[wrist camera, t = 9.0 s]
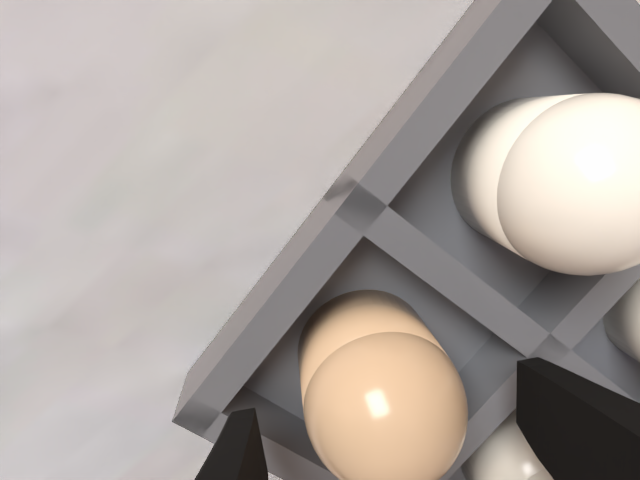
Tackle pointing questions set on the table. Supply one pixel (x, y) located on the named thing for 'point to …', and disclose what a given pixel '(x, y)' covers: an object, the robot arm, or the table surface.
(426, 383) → the tan egg
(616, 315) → the cream egg
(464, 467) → the cream egg
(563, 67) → the egg tray
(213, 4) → the table surface
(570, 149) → the cream egg
